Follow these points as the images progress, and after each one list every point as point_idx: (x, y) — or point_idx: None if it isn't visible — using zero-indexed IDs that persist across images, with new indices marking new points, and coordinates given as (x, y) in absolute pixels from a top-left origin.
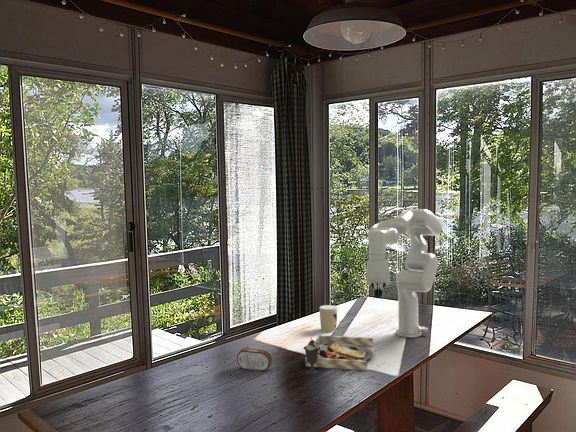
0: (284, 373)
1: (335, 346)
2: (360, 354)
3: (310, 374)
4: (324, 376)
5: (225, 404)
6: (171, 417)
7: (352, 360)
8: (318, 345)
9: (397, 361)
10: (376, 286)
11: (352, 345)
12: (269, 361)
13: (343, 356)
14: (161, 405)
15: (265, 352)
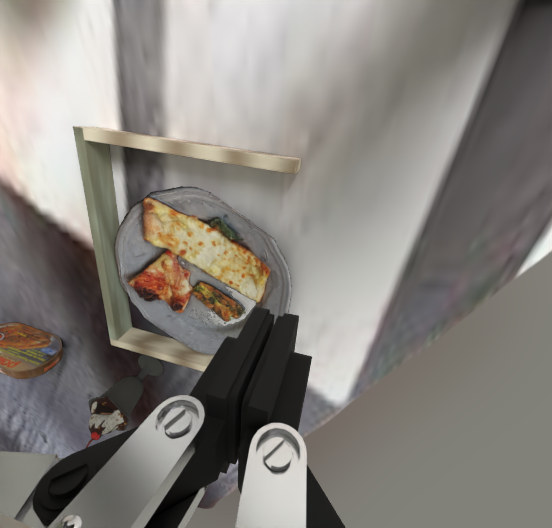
0: (101, 360)
1: (163, 224)
2: (251, 277)
3: (150, 374)
4: (179, 384)
5: (73, 440)
6: (38, 452)
7: None
8: (108, 198)
9: (366, 325)
10: (181, 523)
11: (218, 205)
12: (51, 368)
13: (202, 296)
14: (7, 426)
15: (22, 375)
